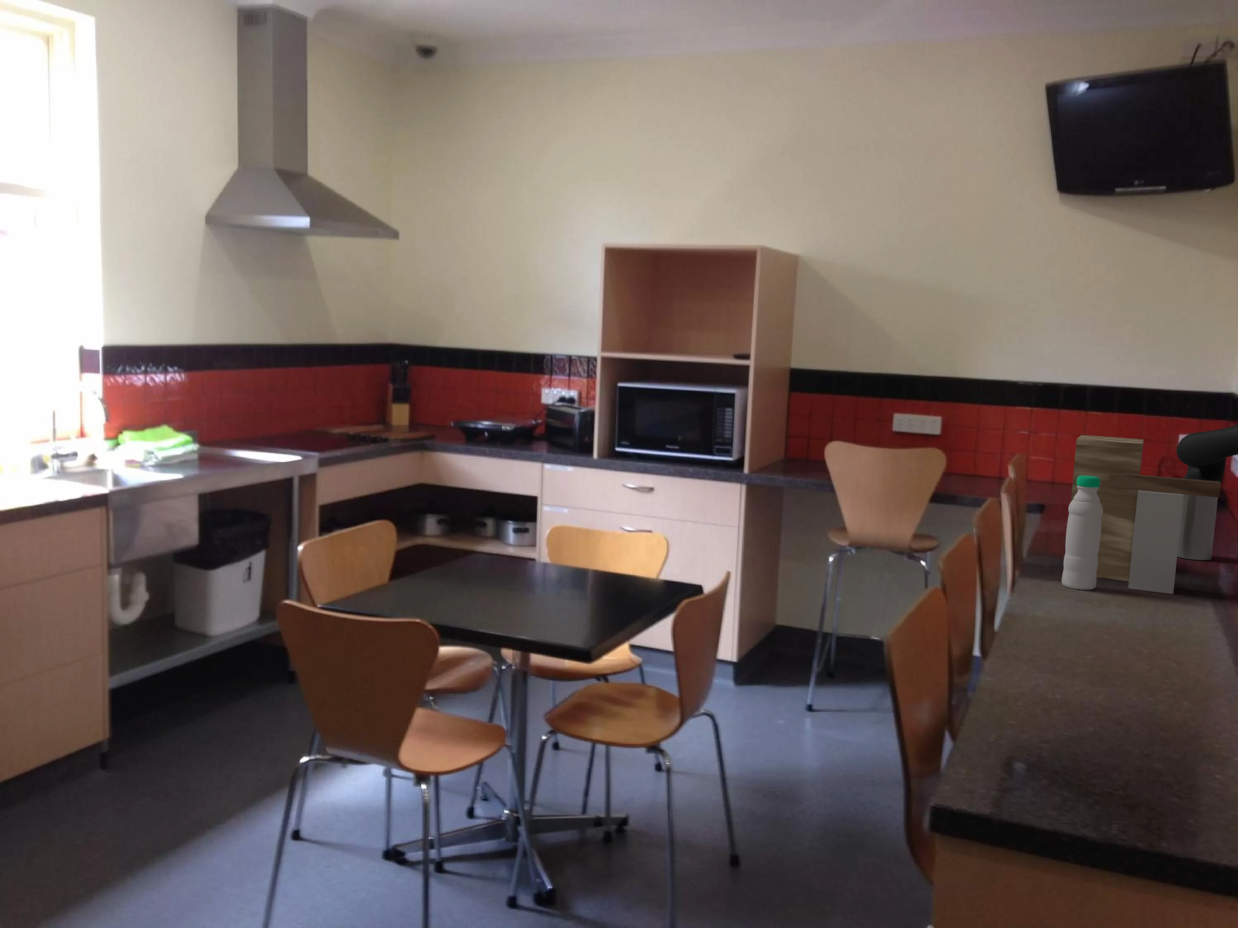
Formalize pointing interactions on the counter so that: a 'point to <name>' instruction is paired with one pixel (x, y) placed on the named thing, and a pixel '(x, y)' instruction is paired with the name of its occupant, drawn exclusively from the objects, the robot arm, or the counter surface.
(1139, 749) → the counter surface
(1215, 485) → the batten
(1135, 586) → the riser block
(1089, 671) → the counter surface
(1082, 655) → the counter surface
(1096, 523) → the white bottle
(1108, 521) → the wooden open box
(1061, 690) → the counter surface
